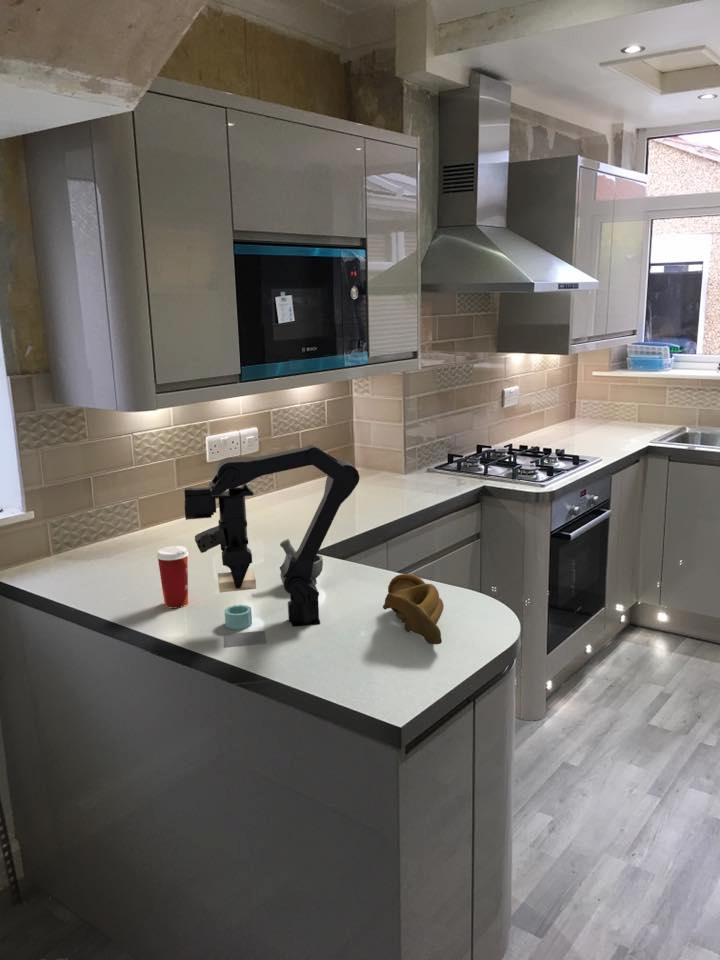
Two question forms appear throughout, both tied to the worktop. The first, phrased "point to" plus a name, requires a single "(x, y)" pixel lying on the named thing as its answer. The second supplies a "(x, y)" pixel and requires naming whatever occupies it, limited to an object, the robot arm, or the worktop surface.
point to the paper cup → (174, 575)
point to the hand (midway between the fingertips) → (237, 582)
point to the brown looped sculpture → (416, 606)
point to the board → (228, 583)
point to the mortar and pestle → (317, 561)
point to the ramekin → (238, 617)
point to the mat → (244, 639)
